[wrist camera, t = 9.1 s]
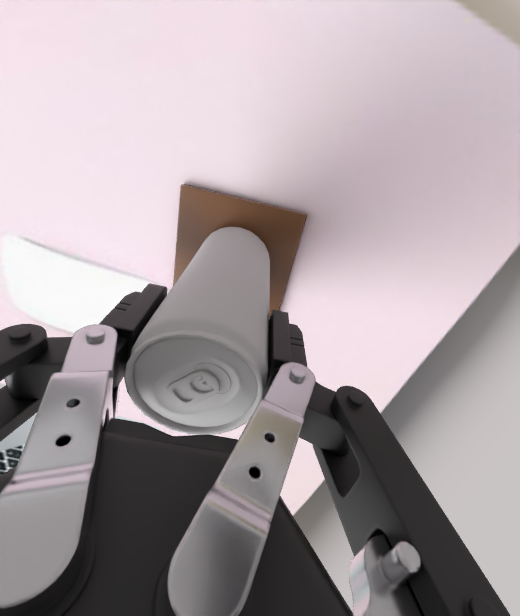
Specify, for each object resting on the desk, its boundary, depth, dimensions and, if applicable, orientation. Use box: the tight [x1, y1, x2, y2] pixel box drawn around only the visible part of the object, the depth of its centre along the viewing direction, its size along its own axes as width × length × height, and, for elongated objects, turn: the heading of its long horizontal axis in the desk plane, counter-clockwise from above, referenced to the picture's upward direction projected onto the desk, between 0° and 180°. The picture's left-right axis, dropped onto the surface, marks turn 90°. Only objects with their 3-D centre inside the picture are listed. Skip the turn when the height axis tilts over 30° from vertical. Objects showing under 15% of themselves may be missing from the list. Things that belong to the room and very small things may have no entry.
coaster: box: [173, 185, 307, 318], centre depth 20 cm, size 8×8×1 cm
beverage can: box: [124, 227, 270, 435], centre depth 15 cm, size 5×5×12 cm
